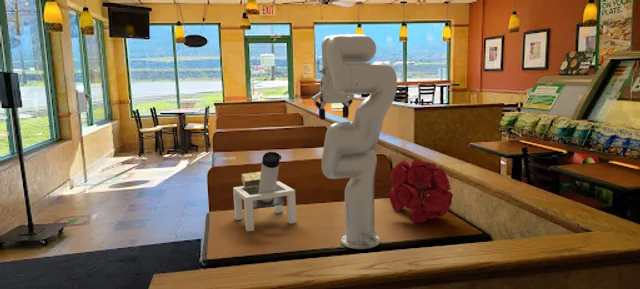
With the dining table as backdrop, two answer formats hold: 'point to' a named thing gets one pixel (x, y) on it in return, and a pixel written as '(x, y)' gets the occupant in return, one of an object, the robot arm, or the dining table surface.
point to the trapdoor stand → (248, 199)
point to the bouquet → (420, 190)
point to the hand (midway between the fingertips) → (334, 118)
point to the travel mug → (269, 174)
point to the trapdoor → (254, 180)
